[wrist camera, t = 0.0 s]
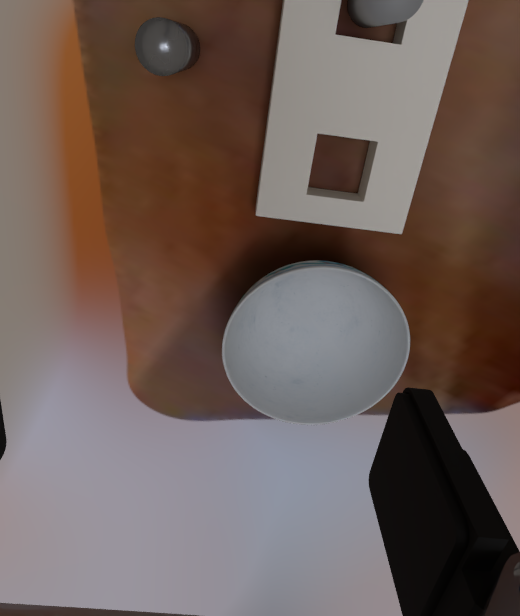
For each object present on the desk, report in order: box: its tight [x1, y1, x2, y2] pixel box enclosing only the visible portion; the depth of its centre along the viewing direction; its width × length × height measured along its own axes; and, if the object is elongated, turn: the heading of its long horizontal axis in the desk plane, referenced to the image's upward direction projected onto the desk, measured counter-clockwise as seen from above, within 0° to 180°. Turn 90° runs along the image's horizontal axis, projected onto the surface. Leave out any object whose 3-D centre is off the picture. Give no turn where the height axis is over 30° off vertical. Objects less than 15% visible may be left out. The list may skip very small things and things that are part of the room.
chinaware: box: [222, 260, 410, 425], centre depth 42 cm, size 15×15×8 cm
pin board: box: [256, 0, 468, 234], centre depth 33 cm, size 20×12×8 cm, turn 172°
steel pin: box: [135, 17, 200, 76], centre depth 32 cm, size 3×3×8 cm
